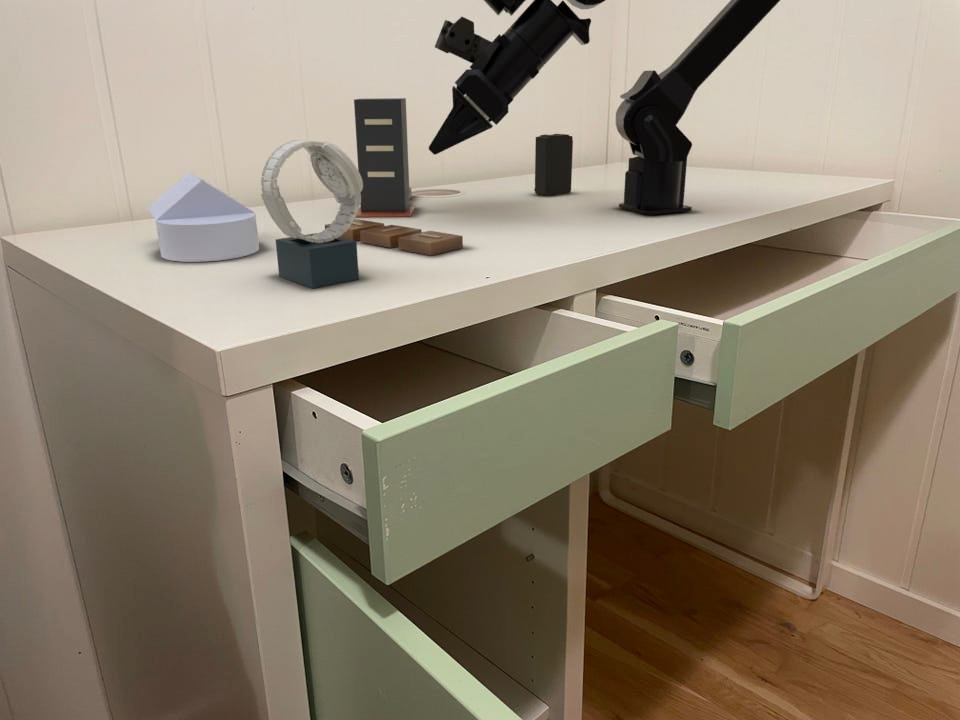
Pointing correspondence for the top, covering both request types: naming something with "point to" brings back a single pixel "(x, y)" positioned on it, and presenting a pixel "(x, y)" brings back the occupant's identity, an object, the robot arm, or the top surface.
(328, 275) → the watch
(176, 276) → the top surface
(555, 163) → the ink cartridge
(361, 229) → the segmented wooden bar
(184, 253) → the wedge on round base
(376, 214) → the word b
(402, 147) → the striped dark tower
